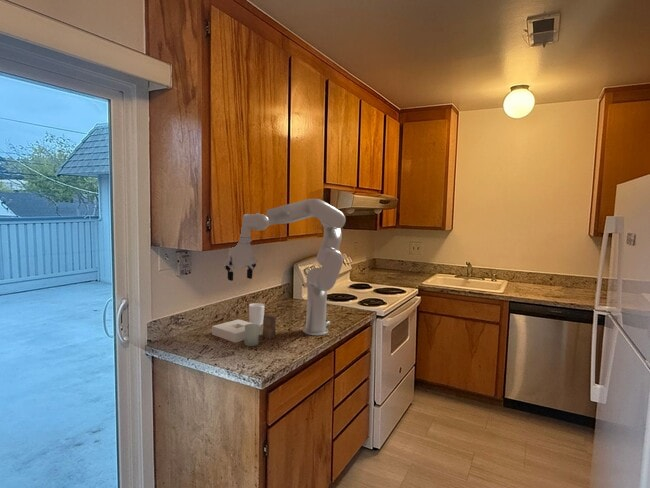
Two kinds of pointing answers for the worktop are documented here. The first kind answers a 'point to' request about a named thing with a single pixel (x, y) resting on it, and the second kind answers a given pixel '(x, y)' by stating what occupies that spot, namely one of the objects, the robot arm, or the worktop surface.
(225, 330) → the cream socket block
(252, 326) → the sage round peg
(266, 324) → the walnut square peg
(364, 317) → the worktop surface
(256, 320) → the white cup
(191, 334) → the worktop surface
